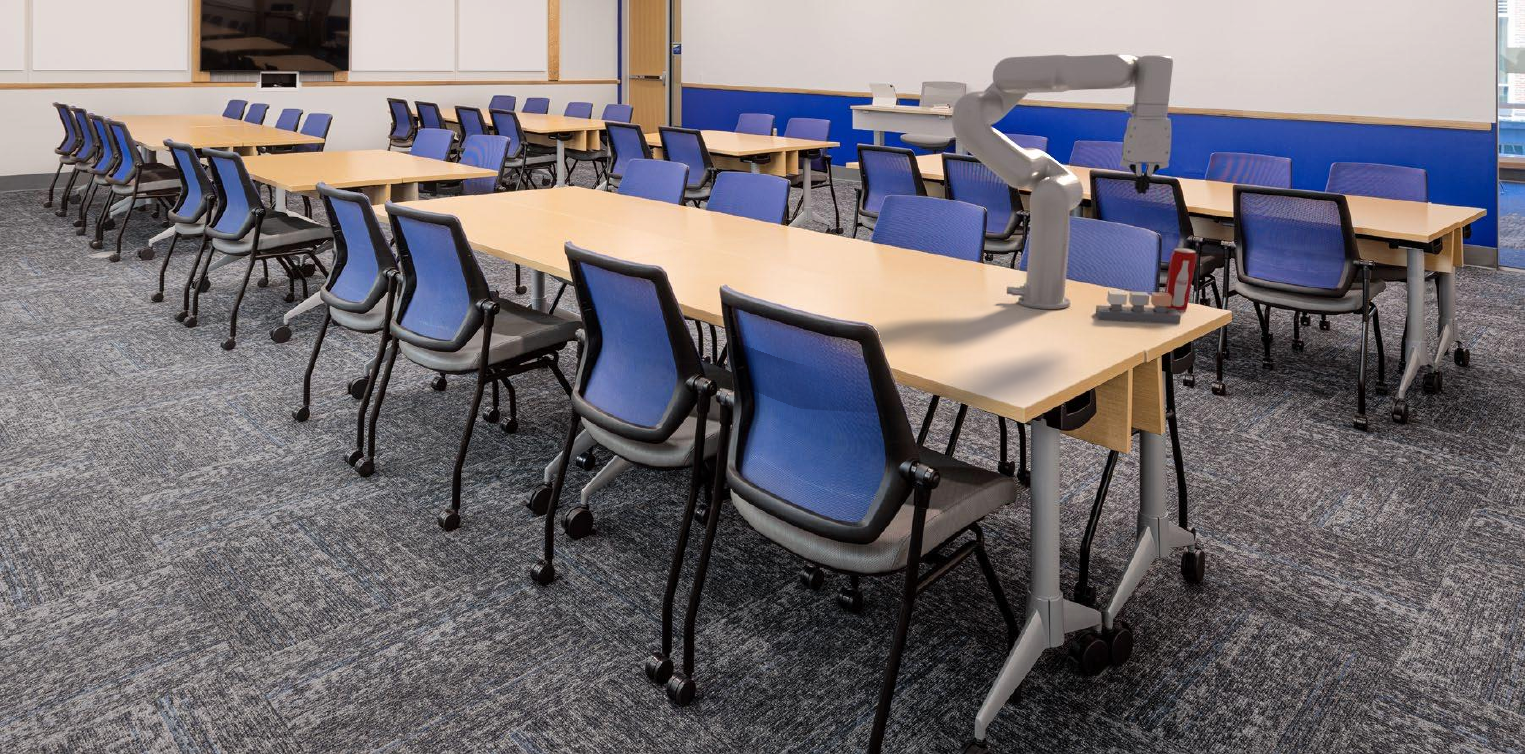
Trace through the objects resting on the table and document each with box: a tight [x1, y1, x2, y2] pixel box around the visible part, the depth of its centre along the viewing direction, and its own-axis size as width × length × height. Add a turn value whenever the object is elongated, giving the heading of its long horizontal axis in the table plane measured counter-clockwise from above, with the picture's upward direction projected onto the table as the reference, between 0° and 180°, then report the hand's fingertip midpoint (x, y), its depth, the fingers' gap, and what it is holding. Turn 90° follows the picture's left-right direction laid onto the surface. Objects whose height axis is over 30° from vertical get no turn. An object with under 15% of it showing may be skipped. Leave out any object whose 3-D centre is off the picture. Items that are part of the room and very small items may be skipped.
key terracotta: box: [1150, 291, 1172, 313], centre depth 245 cm, size 4×4×5 cm
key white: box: [1106, 290, 1128, 311], centre depth 246 cm, size 4×4×5 cm
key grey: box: [1128, 291, 1151, 312], centre depth 246 cm, size 4×4×5 cm
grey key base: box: [1095, 304, 1181, 324], centre depth 246 cm, size 18×7×2 cm, turn 81°
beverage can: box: [1163, 247, 1197, 313], centre depth 253 cm, size 6×6×15 cm
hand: (1141, 193), depth 242 cm, fingers closed
